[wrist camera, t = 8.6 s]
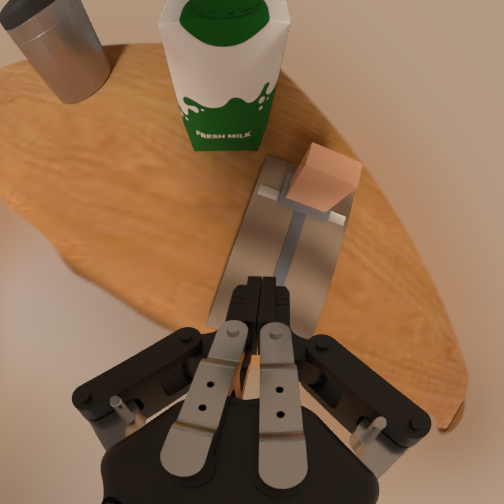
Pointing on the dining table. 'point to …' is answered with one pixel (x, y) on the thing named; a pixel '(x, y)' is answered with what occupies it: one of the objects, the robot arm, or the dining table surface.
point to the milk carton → (224, 67)
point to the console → (284, 250)
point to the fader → (320, 182)
